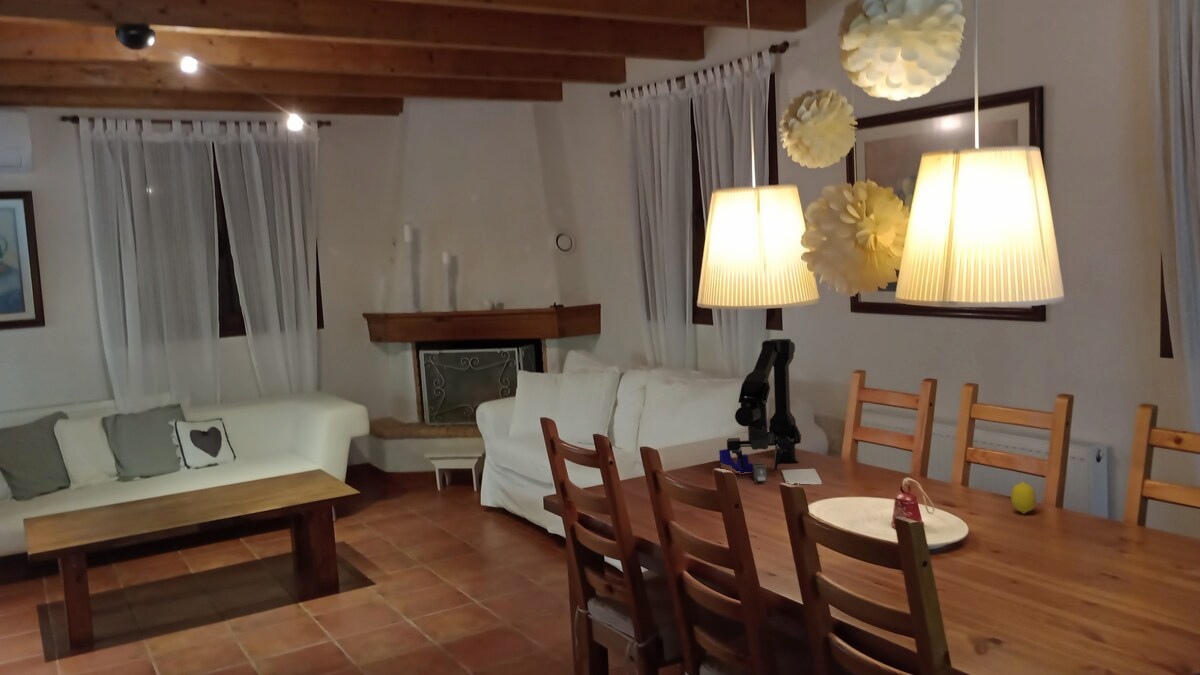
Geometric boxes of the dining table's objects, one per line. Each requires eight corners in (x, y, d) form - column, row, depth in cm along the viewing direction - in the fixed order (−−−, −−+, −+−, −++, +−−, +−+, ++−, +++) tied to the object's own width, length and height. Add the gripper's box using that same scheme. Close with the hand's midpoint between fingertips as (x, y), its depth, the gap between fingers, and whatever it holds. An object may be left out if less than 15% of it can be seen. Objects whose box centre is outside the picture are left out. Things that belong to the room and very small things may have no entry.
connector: (755, 485, 277) (755, 472, 276) (753, 475, 289) (752, 462, 289) (768, 485, 276) (767, 471, 276) (764, 475, 289) (764, 462, 288)
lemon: (1022, 518, 229) (1021, 485, 228) (1006, 512, 234) (1005, 481, 233) (1041, 515, 230) (1040, 482, 230) (1025, 509, 236) (1024, 478, 235)
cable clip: (753, 473, 293) (752, 454, 292) (740, 475, 291) (739, 456, 291) (732, 466, 304) (731, 448, 303) (720, 468, 302) (719, 450, 301)
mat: (781, 472, 290) (781, 470, 290) (814, 471, 289) (814, 468, 289) (786, 485, 275) (786, 482, 275) (821, 484, 274) (821, 481, 274)
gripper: (726, 426, 276) (729, 479, 277) (791, 423, 274) (794, 476, 275) (725, 419, 287) (728, 470, 288) (787, 417, 285) (790, 467, 286)
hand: (759, 471), depth 284 cm, fingers open, 9 cm apart
